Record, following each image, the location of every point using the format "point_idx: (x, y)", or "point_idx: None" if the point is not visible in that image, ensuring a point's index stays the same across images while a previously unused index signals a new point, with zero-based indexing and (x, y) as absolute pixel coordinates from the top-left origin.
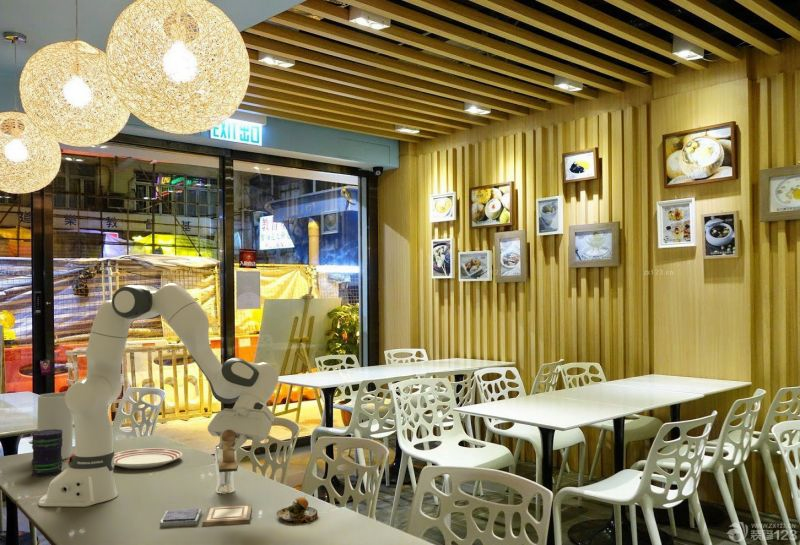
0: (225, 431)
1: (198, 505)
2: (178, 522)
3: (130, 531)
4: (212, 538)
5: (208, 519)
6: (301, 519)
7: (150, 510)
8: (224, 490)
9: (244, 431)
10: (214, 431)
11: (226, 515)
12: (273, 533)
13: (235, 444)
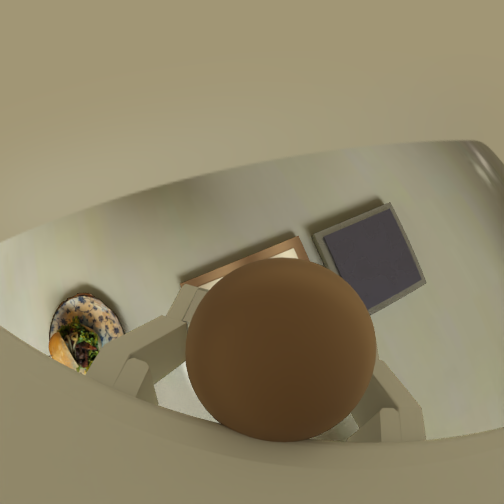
0: (320, 303)
1: None
2: (354, 217)
3: (420, 176)
4: (227, 169)
5: (291, 255)
6: (65, 301)
7: (465, 308)
8: None
9: (51, 379)
10: (492, 431)
11: None
12: (106, 230)
13: (181, 306)
